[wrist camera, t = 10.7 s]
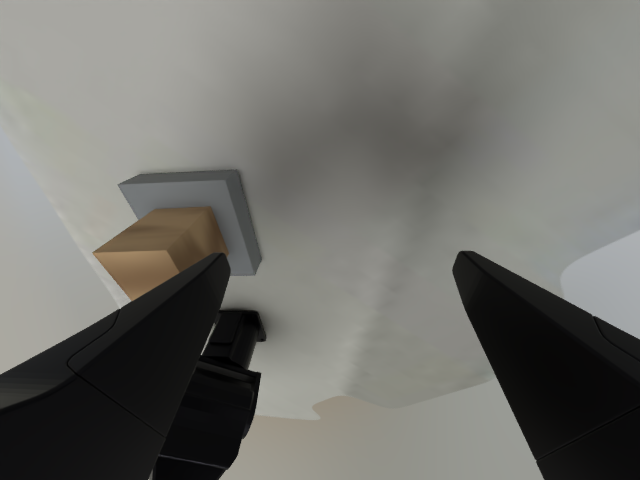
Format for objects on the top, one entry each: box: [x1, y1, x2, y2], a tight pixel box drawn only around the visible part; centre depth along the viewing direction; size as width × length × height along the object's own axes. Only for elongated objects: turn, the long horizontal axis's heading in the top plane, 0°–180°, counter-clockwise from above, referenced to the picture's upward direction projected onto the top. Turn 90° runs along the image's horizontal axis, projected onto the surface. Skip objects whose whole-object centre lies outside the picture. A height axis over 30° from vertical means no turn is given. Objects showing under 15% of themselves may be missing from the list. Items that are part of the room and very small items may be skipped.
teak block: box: [93, 206, 229, 301], centre depth 18 cm, size 5×5×6 cm
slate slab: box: [118, 170, 262, 276], centre depth 22 cm, size 10×9×3 cm
